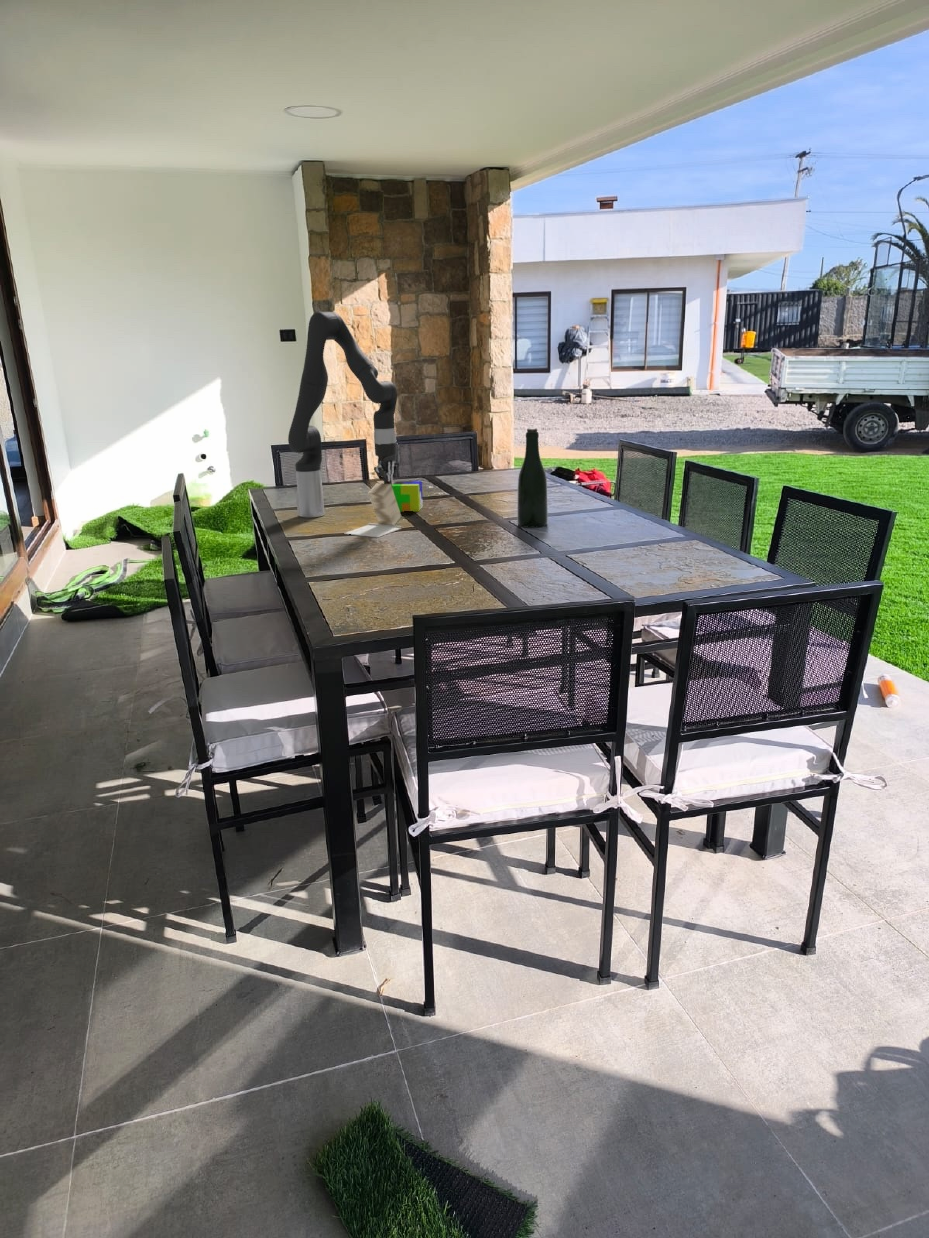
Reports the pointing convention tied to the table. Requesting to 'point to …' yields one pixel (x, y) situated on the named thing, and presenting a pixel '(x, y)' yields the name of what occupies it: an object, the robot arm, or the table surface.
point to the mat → (374, 530)
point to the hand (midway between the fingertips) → (388, 491)
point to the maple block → (385, 504)
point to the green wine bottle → (532, 486)
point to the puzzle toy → (408, 495)
